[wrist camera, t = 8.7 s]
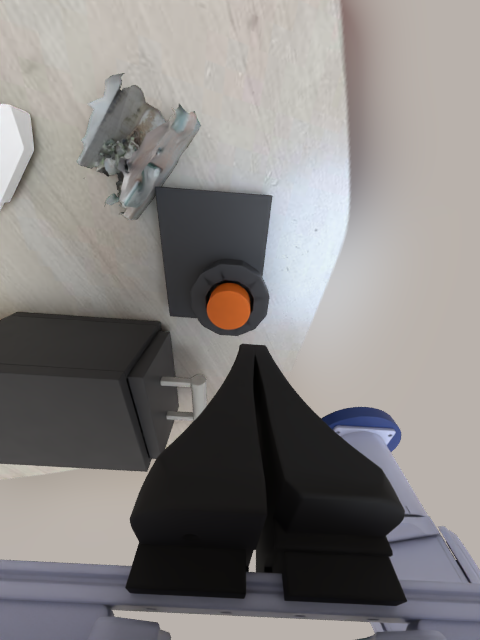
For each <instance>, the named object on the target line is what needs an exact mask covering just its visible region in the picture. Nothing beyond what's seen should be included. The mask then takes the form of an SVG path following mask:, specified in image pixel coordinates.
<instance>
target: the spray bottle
mask: <svg viewBox="0 0 480 640" xmlns="http://www.w3.org/2000/svg"><path fill="white" fill-rule="evenodd" d="M33 152H34V144H33V135H32V126H31V117H30V114H29V113H28V112H26V111H24V110H22V109H19V108H17V107H15V106H12V105H10V104H0V211H1V209H2V207H3V205H4V203H5V202H10V201H11V199H12V196H13V194H14V192H15V190H16V188H17V186H18V184H19V181H20V179H21V177H22V175H23V173H24V171H25V169H26V167H27V164H28V162H29V160H30V158H31V156H32V154H33Z"/></svg>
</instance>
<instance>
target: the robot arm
mask: <svg viewBox="0 0 480 640" xmlns="http://www.w3.org/2000/svg"><path fill="white" fill-rule="evenodd" d="M395 433H396V432H395V430H394V429H392V428H376V427H359V426H342V425H337V426H335V427H334V429H333V430H332V429H331V428H330V427H329V426H328V425H327V424H326V423H325V422H324V421H323V420H322V419H321V418H320V417H319V416H318V415H316V414H315V413H314V412H313V411H312V410H311V408H310V407H309V406H308V405H307V404H306V403H305V402H304V401H303V400H302V399H301V397H300V396H299V395H298V394H297V393H296V391H295V390H294V389H293V388H292V386H291V385H290V384H289V382H288V381H287V380H286V378H285V377H284V375H283V374H282V372H281V371H280V369H279V368H278V366H277V365H276V363H275V362H274V360H273V358H272V356H271V355H270V353H269V351H268V349H267V347H266V346H265V345H251V344H241V345H240V346H239V352H238V355H237V357H236V360H235V362H234V364H233V366H232V368H231V370H230V372H229V374H228V376H227V377H226V379H225V381H224V383H223V384H222V386H221V387H220V389H219V390H218V392H217V393H216V395H215V396H214V397H213V399H212V400H211V401H210V403H209V404H208V405H207V406H206V408H205V409H204V410H203V411H202V413H201V414H200V415H199V416H198V417H197V418H196V419H195V420H194V421H193V422H192V424H191V425H190V426H189V427H188V428H187V429H186V430H185V431H184V432H183V433H182V434H181V435H180V436H179V437H178V438H177V439H176V440H175V441H174V442H173V443H172V444H171V445H169V446H168V447H167V448H166V449H165V450H164V451H163V452H162V453H161V454H160V455H159V456H158V457H157V459H156V461H155V463H154V465H153V466H152V468H151V470H150V471H149V474H148V475H147V477H146V479H145V481H144V483H143V485H142V487H141V490H140V492H139V495H138V498H137V500H136V503H135V506H134V509H133V511H132V514H131V517H130V523H131V527H132V529H133V531H134V533H135V535H136V537H137V538H138V540H139V545H138V548H137V551H136V555H135V558H134V561H133V564H132V566H118V565H98V564H78V563H57V562H38V561H17V560H0V640H171V636H170V633H168V632H165V631H163V630H160V627H159V624H158V623H157V622H149V621H142V620H135V619H127V618H120V617H114V614H113V611H112V610H125V611H146V612H167V613H189V614H210V615H232V616H254V617H275V618H296V619H317V620H339V621H360V622H370V623H371V625H372V628H373V630H374V632H375V634H374V635H373V636H370V637H367V638H363V639H357V640H480V570H479V568H478V566H477V565H476V563H475V562H474V560H473V559H472V557H471V556H470V554H469V553H468V551H467V550H466V548H465V547H464V545H463V544H462V542H461V541H460V539H459V538H458V536H457V535H456V534H455V533H453V532H451V531H450V530H448V529H447V528H446V527H445V526H439V527H438V528H439V529H440V531H441V533H442V534H443V536H444V538H445V539H446V541H447V542H446V543H447V544H448V546H449V548H450V549H451V551H452V553H453V554H454V556H455V558H456V559H457V560H455V558H454V557H453V555H452V553H451V552H450V550H449V548H448V547H447V545H446V544H445V541H444V540H443V538H442V536H441V535H440V533H439V531H438V530H437V528H436V526H435V525H434V523H433V521H432V520H431V518H430V517H429V516H428V515H427V513H426V511H425V510H424V508H423V506H422V504H421V503H420V501H419V500H418V498H417V496H416V494H415V493H414V491H413V489H412V487H411V486H410V484H409V482H408V481H407V479H406V477H405V476H404V474H403V472H402V471H401V469H400V467H399V466H398V464H397V462H396V461H395V459H394V457H393V456H392V454H391V452H390V450H389V449H388V447H387V444H388V443H389V441H390V440H391V439H392V437H393V436H394V434H395ZM253 550H256V572H249V567H248V566H249V563H250V560H251V557H252V553H253Z"/></svg>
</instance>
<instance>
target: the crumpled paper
mask: <svg viewBox="0 0 480 640" xmlns="http://www.w3.org/2000/svg"><path fill="white" fill-rule="evenodd" d="M123 74H124V73H122V74H117V75H112V76H110V77H109V78H108V79H107V80H105V92H104V97H102V98H99V99H97V100H95V101H92V102H90V103H87V104H88V105H89V106H90V107H91V108H93V109H94V110H93V112H92V114H91V117H90V119H89V123H88V127H87V131H86V135H85V137H84V138H83V139H82V140H81V141H82V142H83V144H84V149H83V151H82V153H81V155H80V156H79V159H78V160H77V161H76V162H77V163H78V164H79V165H81V166H84V167H87V168H91V169H92V168H93V167H97V166H98V168H97V169H96V171H98V172H102V173H104V174H105V175H107V176H108V177H109V175H114V174H117V175H118V178H119V181H118V182H117V183H116V185H117V190H119V193H118V197H117V196H116V195H115V194H112V195H110V196H109V197H108V198H107V200H106V201H105V205H106V204H109V205H112V204H114V203H116V202H119V201H121V204H122V207H124V208H126V209H127V210H126V211H125V212H120V214H121V215H123V216H124V217H125V218H127V219H128V220H132V219H136V220H137V219H138V218H139V216H140V215H141V214H142V212H143V211H144V210H145V208H146V207H147V206H148V205H149V203H150V202H151V200H152V199H153V198H154V196H155V195H156V192H155V187H161V186H162V185H163V183H164V182H165V180H166V179H167V178H168V176H169V175H170V173H171V172H172V171H173V169H174V167H175V166H176V165H177V162H178V159H179V157H180V156H181V154H182V153H183V151H184V150H185V149H186V148H187V147H188V145H189V143H190V142H191V141H192V139H193V137H194V136H195V135H196V133H197V132H198V130H199V128H200V126H201V125H200V123H199V121H198V119H197V117H196V114H195V111H194V112H190V113H187V112H186V111H185V110H184V109H183V108H182V106H181V105H180V104H179V107H178V108H177V110H175V109H173V108H172V110H173V111H174V113H175V114H174V115H173V116H171V117H170V120H169V121H167V122H166V121H165V120H164V118H163V117H162V115H161V112H160V111H159V110H158V109H156V108H154V107H152V106H151V105H149V104H148V103H146V102H145V98H144V94H143V92H142V90H141V88H139V87H138V86H136V85H133V86H131V87H128V88H123V90H122V91H121V90H120V88H121V87H120V85H121V86H122V80H121V76H122V75H123ZM83 179H85V178H83ZM119 206H120V205H119ZM104 207H105V206H104Z"/></svg>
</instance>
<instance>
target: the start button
mask: <svg viewBox="0 0 480 640" xmlns="http://www.w3.org/2000/svg"><path fill="white" fill-rule="evenodd" d="M207 315H208V317H209V319H210V320H211V322H212V323H213V324H214V325H216V326H217V327H219V328H222V329H227V330H232V329H236V328H239V327H241V326H242V325H244V324H245V323H246V322H247V320H248V318H249V316H250V298H249V295H248V293H247V291H246V290H245V289H244V288H243V287H241V286H240V285H238V284H235V283H224V284H221V285H219V286H217V287H216V288H215V289H214V290H213V291H212V293H211V296H210V299H209V301H208V304H207Z"/></svg>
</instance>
